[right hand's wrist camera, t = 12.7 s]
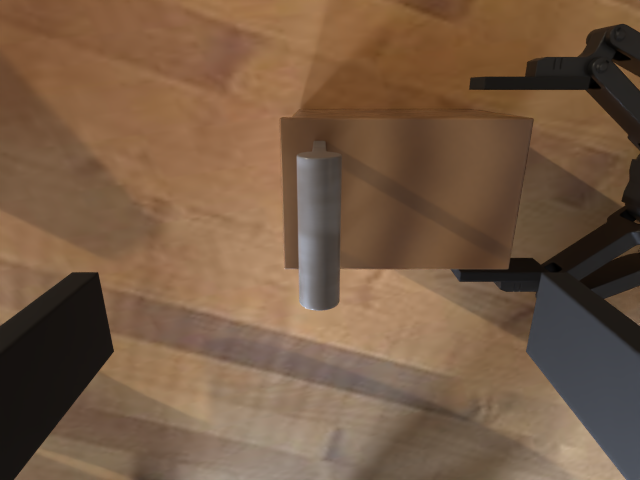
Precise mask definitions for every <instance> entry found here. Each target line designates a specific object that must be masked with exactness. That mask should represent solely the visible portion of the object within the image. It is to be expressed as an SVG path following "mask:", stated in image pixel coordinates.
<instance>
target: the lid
mask: <svg viewBox="0 0 640 480" xmlns="http://www.w3.org/2000/svg"><path fill="white" fill-rule="evenodd" d="M532 126H533V118H528V117H282V118H280V149H281V180H282V212H283V243H284V268H285V269H299V301H300V303H301V305H302V306H303V307H305V308H307V309H311V310H328V309H331V308H334V307H335V306H337V305H338V303H339V294H340V269H508V268H509V263H510V257H511V251H512V245H513V239H514V233H515V227H516V221H517V215H518V209H519V203H520V197H521V191H522V186H523V180H524V174H525V168H526V162H527V156H528V150H529V144H530V138H531V132H532Z"/></svg>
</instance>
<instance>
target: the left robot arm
mask: <svg viewBox="0 0 640 480" xmlns="http://www.w3.org/2000/svg"><path fill="white" fill-rule="evenodd" d="M586 44H587V46H586V48H585V49H584V51H583V53H582V54H581V55H579V56H578V57H544V58H536V59H533V60H531V61H528V62H527V68H526V74H525V77H475V78H471V79H470V88H469V90H586V91H587V92H588V93H589V94H590V95H591V96H592V97H593V98H594V99H595V100H596V101H597V102H598V103H599V104H600V106H601V107H602V108H603V109H604V110H605V111H606V112H607V113H608V114H609V115H610V116H611V117H612V118H613V119H614V120H615V121H616V122H617V123H618V124H619V125H620V126H621V127H622V128H623V129H624V130H625V131H626V133H627V134H628V139H629V140H630V141H631V142H632V143H633V144H634V145H635V146H636V147H637V148H638V149H639V150H640V91H639V90H638V89H637V88H636V86H635V85H634V84H633V83H632V82H631V81H630V80H629V79H628V78H627V77H626V76H625V75H624V73H623V72H622V71H621V70H620V69H619V68H618V67H617V66H616V65H615V64H614V63H616V64H618V65H619V66H621V67H623V68H625V69H626V70H628V71H630V72H632V73H633V74H635V75H637V76H639V77H640V33H639V32H638V31H636V30H634V29H633V28H631V27H629V26H628V25H625V24H619V25H614V26H610V27H605V28H600V29H596V30H593V31H591V32H590V33H589V34H588V36H587V39H586ZM613 62H614V63H613ZM629 174H630V180H629V183H628V185H627V187H626V188H625V190H624V193H623V197H622V202H625V206H624V207H623V208H621V209H619V210H618V211H616V212H615V213H613V214H612V215H610V216H609V217H608V218H607V222H606V223H605V224H604V225H602V226H600V227H599V228H597V229H596V230H594V231H593V232H591V233H590V234H588V235H586V236H585V237H583V238H582V239H580V240H579V241H577V242H576V243H574V244H573V245H571V246H569V247H568V248H566V249H565V250H563V251H562V252H560V253H559V254H557V255H556V256H554V257H552V258H551V259H549V260H548V261H546V262H545V263H543V264H542V265H540V264H539V263H538V262H537V261H535V260H534V259H533V258H510V263H509V268H508V269H451V271H452V272H453V273H454V275H455V276H456V277H457V279H458V280H459V282H494V283H495V284H496V285H497V287H498V288H499V289H501V290H503V291H506V292H513V291H514V292H519V291H520V292H536V294H535V295H536V298H537V294H538V289H539V284H540V279H541V274H542V272H568V273H569V274H570V275H572V276H573V277H575V278H576V279H577V280H579V281H580V282H581V283H583V284H584V285H585V286H587V287H588V288H589V289H591V290H592V291H593V292H595V293H596V294H597V295H599V296H600V297H601V298H603V299H605V298H608V297H610V296H613V295H616V294H618V293H621V292H624V291H626V290H629V289H632V288H634V287H637V286H640V249H639V251H638V252H639V253H633V254H629V255H625V256H622V257H620V258H617V259H614V258H616V257H618V256H619V255H621V254H623V253H624V252H626V251H627V250H629V249H631V248H632V247H634V246H636V245H640V224H637V223H635V222H633V221H635V220H636V219H637V220H638V221H639V222H640V154H639V156H638V157H637V159H632V162H631V166H630V170H629ZM613 259H614V260H613ZM611 260H612V261H611Z"/></svg>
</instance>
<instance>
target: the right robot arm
mask: <svg viewBox="0 0 640 480" xmlns="http://www.w3.org/2000/svg"><path fill="white" fill-rule="evenodd" d="M113 352H114V349H113V344H112V339H111V334H110V329H109V324H108V319H107V314H106V309H105V304H104V299H103V294H102V289H101V284H100V279H99V274H98V272H72V273H71V274H70V275H68V276H67V277H65V278H64V279H63V280H61V281H60V282H59V283H57V284H56V285H55V286H53V287H52V288H51V289H49V290H48V291H47V292H45V293H44V294H43V295H41V296H40V297H39V298H37V299H36V300H35V301H33V302H32V303H31V304H29V305H28V306H27V307H25V308H24V309H23V310H21V311H20V312H19V313H17V314H16V315H15V316H13V317H12V318H11V319H9V320H8V321H7V322H5V323H4V324H2V325H1V326H0V480H14V479H15V477H16V476H17V475H18V474H19V472H20V471H21V470H22V469H23V467H24V466H25V465H26V463H27V462H28V461H29V460H30V458H31V457H32V456H33V454H34V453H35V452H36V451H37V449H38V448H39V447H40V445H41V444H42V443H43V442H44V440H45V439H46V438H47V437H48V435H49V434H50V433H51V431H52V430H53V429H54V428H55V426H56V425H57V424H58V422H59V421H60V420H61V419H62V417H63V416H64V415H65V413H66V412H67V411H68V410H69V408H70V407H71V406H72V405H73V403H74V402H75V401H76V399H77V398H78V397H79V396H80V394H81V393H82V392H83V390H84V389H85V388H86V387H87V385H88V384H89V383H90V381H91V380H92V379H93V378H94V376H95V375H96V374H97V372H98V371H99V370H100V369H101V367H102V366H103V365H104V364H105V362H106V361H107V360H108V358H109V357H110V356H111V355H112V353H113ZM526 352H527V353H528V355H529V356H530V357H531V358H532V360H533V361H534V362H535V364H536V365H537V366H538V367H539V369H540V370H541V371H542V372H543V374H544V375H545V376H546V378H547V379H548V380H549V381H550V383H551V384H552V385H553V387H554V388H555V389H556V390H557V392H558V393H559V394H560V396H561V397H562V398H563V399H564V401H565V402H566V403H567V405H568V406H569V407H570V408H571V410H572V411H573V412H574V413H575V415H576V416H577V417H578V419H579V420H580V421H581V422H582V424H583V425H584V426H585V428H586V429H587V430H588V431H589V433H590V434H591V435H592V437H593V438H594V439H595V440H596V442H597V443H598V444H599V445H600V447H601V448H602V449H603V451H604V452H605V453H606V454H607V456H608V457H609V458H610V460H611V461H612V462H613V463H614V465H615V466H616V467H617V469H618V470H619V471H620V472H621V474H622V475H623V476H624V477H625V479H626V480H640V326H639V325H638V324H636V323H635V322H633V321H632V320H631V319H629V318H628V317H627V316H625V315H624V314H623V313H621V312H620V311H619V310H617V309H616V308H615V307H613V306H612V305H611V304H609V303H608V302H607V301H605V300H604V299H603V298H601V297H600V296H599V295H597V294H596V293H595V292H593V291H592V290H591V289H589V288H588V287H587V286H585V285H584V284H583V283H581V282H580V281H579V280H577V279H576V278H575V277H573V276H572V275H570V274H569V273H568V272H542V274H541V279H540V284H539V289H538V294H537V299H536V304H535V309H534V314H533V319H532V324H531V329H530V334H529V339H528V344H527V349H526Z"/></svg>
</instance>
